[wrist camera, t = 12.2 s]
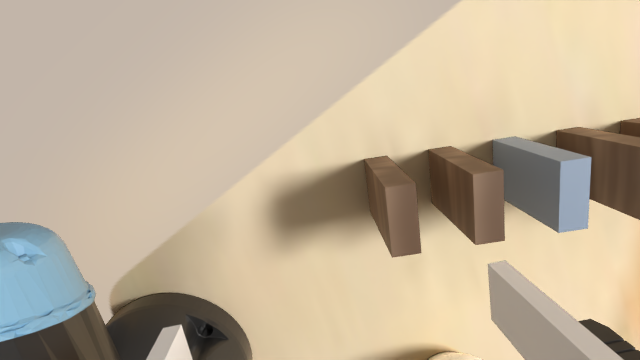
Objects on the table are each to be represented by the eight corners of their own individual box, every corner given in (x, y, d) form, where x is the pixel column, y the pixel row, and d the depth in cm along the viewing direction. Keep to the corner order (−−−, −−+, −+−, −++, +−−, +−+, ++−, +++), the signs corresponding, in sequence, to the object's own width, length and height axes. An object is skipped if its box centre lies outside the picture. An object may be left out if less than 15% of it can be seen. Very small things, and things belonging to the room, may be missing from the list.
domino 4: (555, 184, 34) (641, 220, 25) (556, 130, 32) (647, 148, 24) (576, 181, 34) (670, 216, 25) (579, 127, 32) (678, 144, 24)
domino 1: (370, 211, 34) (392, 257, 25) (364, 159, 33) (385, 187, 24) (391, 208, 34) (421, 253, 25) (386, 155, 33) (415, 183, 24)
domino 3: (515, 136, 32) (591, 157, 24) (515, 190, 34) (587, 228, 25) (492, 139, 32) (560, 161, 24) (493, 193, 34) (558, 232, 25)
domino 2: (431, 202, 34) (475, 244, 25) (428, 149, 32) (473, 174, 24) (453, 199, 34) (504, 240, 25) (450, 146, 32) (503, 170, 24)
